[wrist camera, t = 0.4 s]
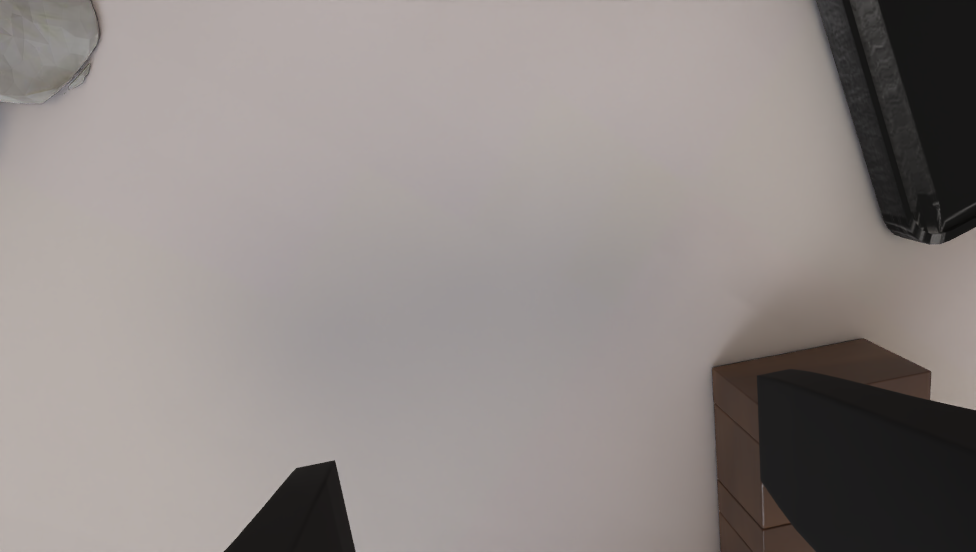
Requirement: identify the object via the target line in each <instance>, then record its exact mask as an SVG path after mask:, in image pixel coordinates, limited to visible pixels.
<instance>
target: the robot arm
mask: <svg viewBox="0 0 976 552" xmlns="http://www.w3.org/2000/svg"><path fill="white" fill-rule="evenodd" d="M757 395H758V424H759V453H760V481H761V482H762V483H763V485H764V486H765V488H766V489H767V491H768V492H769V494H770V495H771V497H772V498H773V499H774V501H775V502H776V504H777V505H778V507H779V508H780V509H781V511H782V512H783V513H784V515H785V516H786V517H787V519H788V520H789V522H790V523H791V524H792V526H793V527H794V528H795V529H796V530H797V532H798V533H799V534H800V535H801V536H802V537H803V538H804V539H805V540H806V542H807V543H808V544H809V545H810V546H811V547H812V548H813V549H814V550H815V551H816V552H976V410H971V409H967V408H962V407H957V406H953V405H948V404H944V403H940V402H935V401H931V400H927V399H923V398H919V397H914V396H910V395H906V394H902V393H898V392H894V391H890V390H886V389H882V388H878V387H874V386H870V385H866V384H862V383H858V382H854V381H850V380H846V379H842V378H838V377H834V376H829V375H825V374H820V373H815V372H810V371H804V370H796V369H787V370H782V371H777V372H772V373H767V374H762V375H757ZM224 552H355V547H354V543H353V539H352V534H351V530H350V525H349V521H348V516H347V512H346V507H345V503H344V499H343V494H342V490H341V485H340V481H339V476H338V472H337V467H336V463H335V460H334V461H329V462H325V463H320V464H315V465H310V466H305V467H300V468H296V469H295V470H294V471H293V472H292V473H291V475H290V476H289V477H288V478H287V479H286V480H285V482H284V483H283V484H282V485H281V486H280V487H279V489H278V490H277V491H276V492H275V493H274V495H273V496H272V497H271V498H270V500H269V501H268V502H267V503H266V504H265V506H264V507H263V508H262V509H261V510H260V511H259V513H258V514H257V515H256V516H255V517H254V518H253V520H252V521H251V522H250V523H249V524H248V525H247V526H246V528H245V529H244V530H243V531H242V532H241V533H240V535H239V536H238V537H237V538H236V539H235V540H234V541H233V543H232V544H231V545H230V546H229V547H228V548H227V549H226V550H225V551H224Z"/></svg>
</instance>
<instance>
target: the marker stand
mask: <svg viewBox="0 0 976 552" xmlns="http://www.w3.org/2000/svg"><path fill="white" fill-rule="evenodd" d="M787 369H796V370H804V371H810V372H815V373H820V374H825V375H829V376H834V377H838V378H842V379H846V380H850V381H854V382H858V383H862V384H866V385H870V386H874V387H878V388H882V389H886V390H890V391H894V392H898V393H902V394H906V395H910V396H914V397H919V398H923V399H927V400H930V386H931V371H929V370H927V369H925V368H923V367H921V366H919V365H917V364H915V363H913V362H911V361H909V360H907V359H905V358H903V357H901V356H899V355H896V354H894V353H892V352H890V351H888V350H886V349H884V348H882V347H880V346H878V345H876V344H874V343H872V342H870V341H868V340H866V339H858V340H853V341H848V342H843V343H838V344H833V345H827V346H822V347H817V348H812V349H807V350H801V351H796V352H791V353H786V354H781V355H776V356H770V357H765V358H760V359H755V360H750V361H744V362H739V363H734V364H729V365H724V366H719V367H713V368H712V376H713V398H714V403H715V404H714V412H715V434H716V456H717V477H718V480H717V484H718V506H719V525H720V547H721V552H816V551H815V550H814V549H813V548H812V547H811V546H810V545H809V544H808V543H807V542H806V540H805V539H804V538H803V537H802V536H801V535H800V534H799V533H798V532H797V530H796V529H795V528H794V527H793V526H792V524H791V523H790V522H789V520H788V519H787V517H786V516H785V515H784V513H783V512H782V511H781V509H780V508H779V507H778V505H777V504H776V502H775V501H774V499H773V498H772V497H771V495H770V494H769V492H768V491H767V489H766V488H765V486H764V485H763V483H762V482H761V481H760V453H759V424H758V395H757V375H762V374H767V373H772V372H777V371H782V370H787Z"/></svg>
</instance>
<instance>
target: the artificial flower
mask: <svg viewBox="0 0 976 552" xmlns="http://www.w3.org/2000/svg"><path fill="white" fill-rule="evenodd" d="M98 38H99V27H98V21H97V18H96V14H95V11H94V9H93V6H92V4H91V1H90V0H0V102H9V103H27V104H42V103H43V102H45V101H46V100H47V99H49V98H50V97H52V96H53V95H55V94H56V93H57V92H58V91H59V90H60V89H61V88H62V87H63V86H64V85H66V84H67V83H69V82H70V81H71V79H72V78H73V76H74V75H75V74H76V72H77V71H78V70H79V69H80V68H81V67H82V66H83V65H84V63H85V61H86V60H87V58H88V57H89V55H90V54H91V52H92V51H93V49H94V48H95V46H96V45H97V42H98ZM89 67H90V64H89V65H88V66H87V67H86V68H85V69H84V70H83V71H82V72H81V73H80V74H79V76H78V77H77V78H76V79H75V80H74V81H73V82H72V83H71V85H70V86H69V90H70V89H72V88H74V87H76V86H78V85H80V84H82V83H83V80H84V77H85V76H86V75H87V74H88V73H89ZM64 94H65V93H64Z"/></svg>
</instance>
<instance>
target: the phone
mask: <svg viewBox="0 0 976 552" xmlns="http://www.w3.org/2000/svg"><path fill="white" fill-rule="evenodd" d="M817 4H818V7H819V10H820V14H821V17H822V20H823V23H824V27H825V30H826V33H827V36H828V40H829V43H830V46H831V50H832V53H833V56H834V59H835V63H836V66H837V69H838V72H839V76H840V79H841V82H842V86H843V89H844V92H845V95H846V99H847V102H848V105H849V108H850V112H851V115H852V118H853V122H854V125H855V128H856V131H857V135H858V138H859V141H860V144H861V148H862V151H863V154H864V158H865V161H866V164H867V167H868V171H869V174H870V177H871V180H872V184H873V187H874V190H875V194H876V197H877V200H878V203H879V207H880V210H881V213H882V216H883V220H884V222H885V224H886V226H887V228H888V229H889V230H890V231H891V232H892V233H894V234H895V235H897V236H900V237H903V238H906V239H910V240H914V241H918V242H922V243H926V244H942V243H945V242H947V241H950V240H952V239H954V238H956V237H958V236H960V235H961V234H963V233H965V232H967V231H969V230H971V229H973V228H975V227H976V0H817Z"/></svg>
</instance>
